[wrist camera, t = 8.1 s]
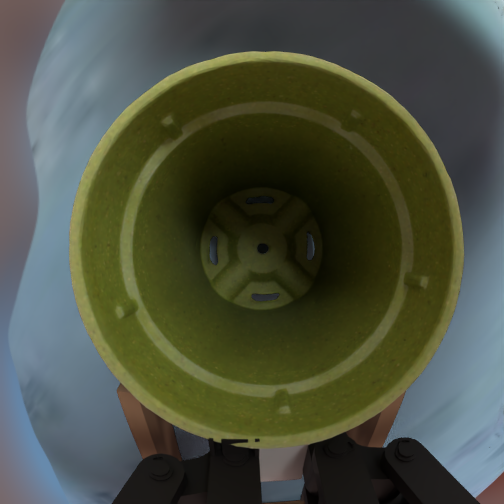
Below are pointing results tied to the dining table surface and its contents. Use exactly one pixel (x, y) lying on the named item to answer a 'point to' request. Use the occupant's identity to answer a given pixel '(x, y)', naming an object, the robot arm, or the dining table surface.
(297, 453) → the robot arm
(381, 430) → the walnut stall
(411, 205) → the plant pot
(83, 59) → the dining table surface
